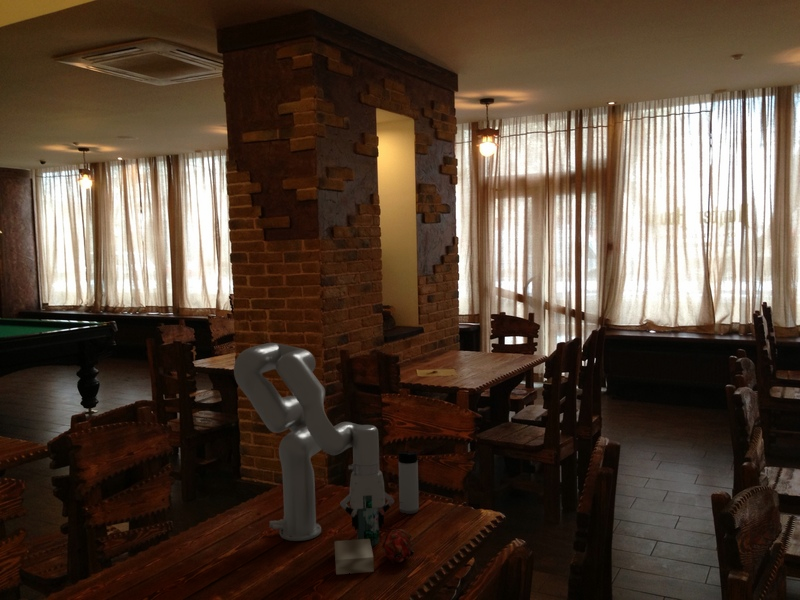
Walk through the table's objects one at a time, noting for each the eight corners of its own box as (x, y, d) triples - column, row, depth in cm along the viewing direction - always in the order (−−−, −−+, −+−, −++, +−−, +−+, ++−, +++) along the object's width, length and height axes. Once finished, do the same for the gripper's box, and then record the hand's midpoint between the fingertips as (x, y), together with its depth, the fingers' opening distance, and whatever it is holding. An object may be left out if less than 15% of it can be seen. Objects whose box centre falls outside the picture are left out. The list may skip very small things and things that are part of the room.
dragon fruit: (400, 553, 200) (401, 579, 189) (376, 538, 199) (375, 563, 188) (417, 531, 199) (419, 556, 187) (393, 516, 198) (393, 540, 186)
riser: (336, 574, 185) (335, 560, 185) (335, 554, 197) (334, 541, 197) (373, 571, 186) (373, 557, 186) (370, 552, 198) (369, 538, 198)
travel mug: (396, 513, 227) (394, 453, 225) (403, 506, 233) (402, 447, 231) (414, 515, 224) (413, 454, 223) (421, 508, 231) (420, 449, 229)
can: (371, 548, 201) (369, 497, 200) (354, 543, 204) (352, 493, 203) (382, 540, 206) (381, 490, 205) (365, 536, 209) (364, 487, 208)
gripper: (337, 474, 199) (338, 535, 200) (397, 470, 201) (398, 530, 202) (336, 465, 206) (338, 524, 208) (394, 462, 208) (395, 520, 210)
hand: (368, 527), depth 205 cm, fingers open, 6 cm apart
